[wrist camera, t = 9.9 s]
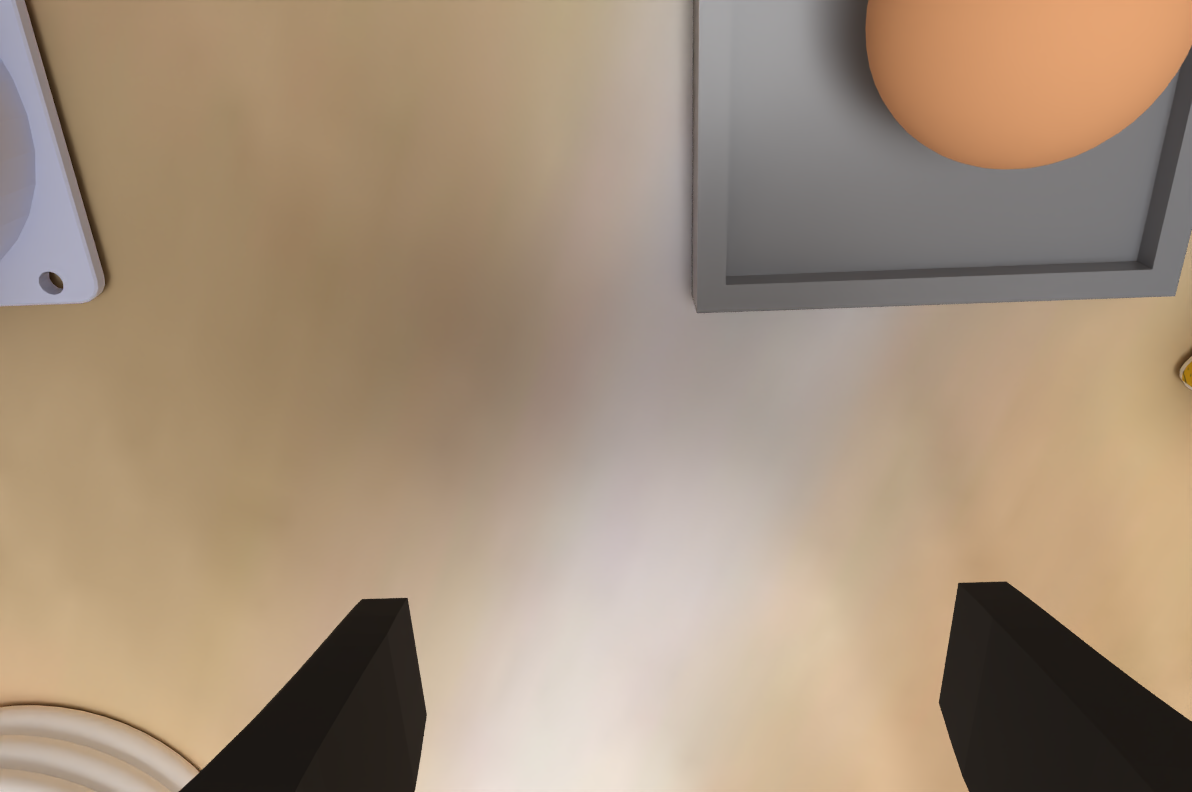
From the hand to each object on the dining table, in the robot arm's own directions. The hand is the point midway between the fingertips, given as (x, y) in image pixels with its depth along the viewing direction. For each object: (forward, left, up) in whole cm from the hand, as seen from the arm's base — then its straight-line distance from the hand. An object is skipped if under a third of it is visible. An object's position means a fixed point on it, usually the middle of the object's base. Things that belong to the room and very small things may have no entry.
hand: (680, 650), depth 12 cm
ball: (+6, +7, -9) cm, 13 cm away
